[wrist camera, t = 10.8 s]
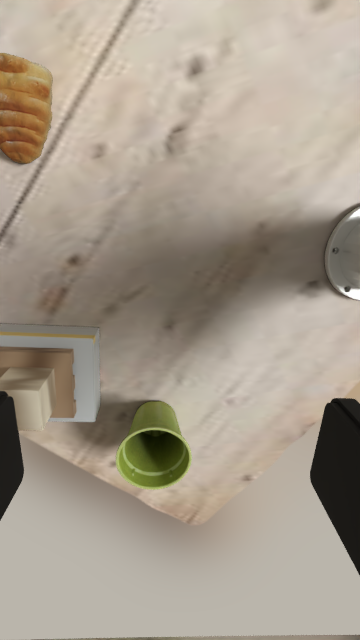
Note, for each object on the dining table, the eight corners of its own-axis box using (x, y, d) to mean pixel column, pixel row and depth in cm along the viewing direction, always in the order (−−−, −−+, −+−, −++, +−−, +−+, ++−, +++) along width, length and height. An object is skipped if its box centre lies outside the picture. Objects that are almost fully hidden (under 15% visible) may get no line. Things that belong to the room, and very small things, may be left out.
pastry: (56, 168, 36) (44, 163, 32) (-5, 160, 35) (-25, 154, 31) (55, 70, 33) (42, 52, 29) (-12, 60, 32) (-34, 40, 28)
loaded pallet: (73, 348, 38) (57, 374, 32) (76, 411, 41) (62, 445, 35) (-4, 346, 37) (-35, 371, 31) (5, 410, 40) (-22, 445, 34)
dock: (99, 327, 42) (93, 338, 38) (100, 404, 46) (95, 422, 42) (-11, 322, 41) (-29, 333, 37) (-1, 402, 44) (-15, 420, 41)
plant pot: (110, 420, 47) (99, 464, 38) (152, 378, 45) (150, 415, 36) (157, 453, 49) (157, 501, 41) (199, 414, 47) (207, 456, 39)
